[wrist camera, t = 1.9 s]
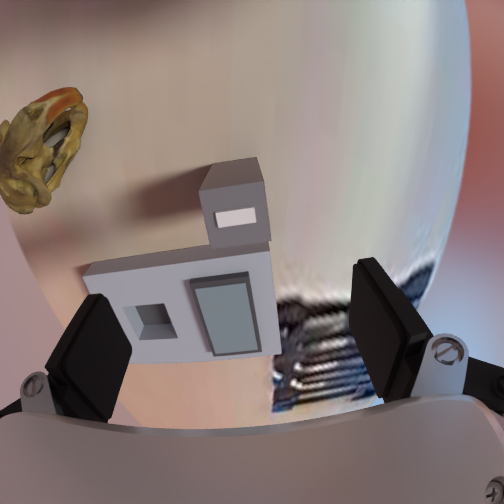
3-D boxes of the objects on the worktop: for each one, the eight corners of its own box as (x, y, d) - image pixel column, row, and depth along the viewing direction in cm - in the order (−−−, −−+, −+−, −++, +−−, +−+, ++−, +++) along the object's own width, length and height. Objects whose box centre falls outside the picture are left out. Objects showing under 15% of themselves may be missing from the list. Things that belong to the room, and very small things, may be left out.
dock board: (267, 236, 28) (270, 256, 25) (279, 336, 35) (282, 359, 31) (93, 262, 29) (78, 281, 26) (134, 347, 36) (127, 369, 32)
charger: (256, 157, 25) (264, 182, 16) (262, 198, 26) (271, 242, 18) (212, 163, 25) (197, 192, 17) (220, 204, 27) (210, 250, 19)
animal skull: (142, 102, 19) (48, 168, 12) (79, 184, 28) (24, 243, 22) (81, 35, 15) (-19, 78, 8) (36, 134, 24) (-24, 184, 18)
